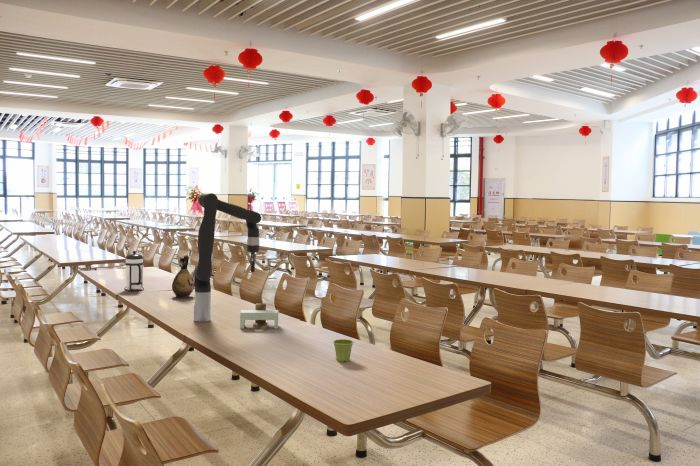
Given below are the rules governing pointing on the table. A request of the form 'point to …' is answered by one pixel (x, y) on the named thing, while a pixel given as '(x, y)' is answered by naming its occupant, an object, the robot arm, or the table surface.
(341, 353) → the plant pot
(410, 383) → the table surface
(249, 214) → the robot arm
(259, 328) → the disc
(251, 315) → the pale green bench
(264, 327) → the brown wooden block
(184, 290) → the ceramic jug
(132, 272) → the coffee press
